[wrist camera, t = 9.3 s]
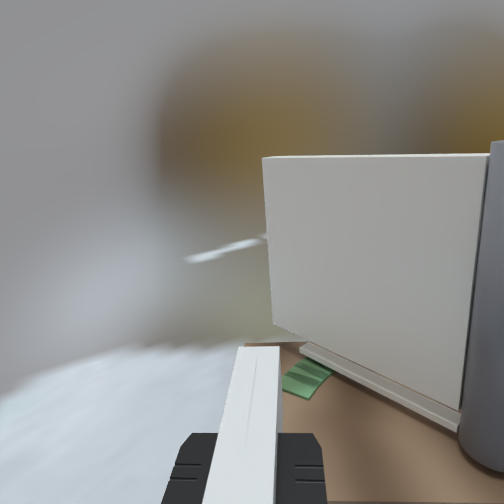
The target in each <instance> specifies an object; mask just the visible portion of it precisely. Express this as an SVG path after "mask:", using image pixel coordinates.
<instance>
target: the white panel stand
mask: <svg viewBox="0 0 504 504" xmlns="http://www.w3.org/2000/svg"><path fill="white" fill-rule="evenodd" d="M262 165H263V182H264V196H265V211H266V226H267V241H268V256H269V271H270V286H271V301H272V314H273V324H275V325H277V326H279V327H281V328H283V329H285V330H287V331H289V332H292V333H294V334H296V335H298V336H300V337H302V338H304V339H307V340H309V341H311V342H313V343H315V344H317V345H319V346H321V347H324V348H326V349H328V350H330V351H332V352H334V353H336V354H338V355H341V356H343V357H345V358H347V359H349V360H351V361H353V362H355V363H358V364H360V365H362V366H364V367H366V368H368V369H370V370H372V371H375V372H377V373H379V374H381V375H383V376H385V377H387V378H390V379H392V380H394V381H396V382H398V383H400V384H402V385H404V386H407V387H409V388H411V389H413V390H415V391H417V392H419V393H421V394H424V395H426V396H428V397H430V398H432V399H434V400H436V401H438V402H441V403H443V404H445V405H447V406H449V407H451V408H453V409H456V410H458V411H459V409H460V408H461V413H458V412H456V411H454V410H452V409H450V408H448V407H446V406H444V405H441V404H439V403H437V402H435V401H433V400H431V399H429V398H427V397H425V396H422V395H420V394H418V393H416V392H414V391H412V390H410V389H408V388H406V387H403V386H401V385H399V384H397V383H395V382H393V381H391V380H389V379H386V378H384V377H382V376H380V375H378V374H376V373H374V372H372V371H370V370H367V369H365V368H363V367H361V366H359V365H357V364H355V363H353V362H351V361H348V360H346V359H344V358H342V357H340V356H338V355H336V354H334V353H332V352H329V351H327V350H325V349H323V348H321V347H319V346H317V345H315V344H312V343H310V342H308V343H306V344H304V345H303V346H301V347H299V349H300V353H302V354H304V355H306V356H308V357H310V358H312V359H314V360H315V361H317V362H319V363H321V364H323V365H325V366H327V367H329V368H331V369H333V370H335V371H337V372H339V373H341V374H343V375H345V376H347V377H349V378H351V379H352V380H354V381H356V382H358V383H360V384H362V385H364V386H366V387H368V388H370V389H372V390H374V391H376V392H378V393H380V394H382V395H384V396H386V397H388V398H390V399H391V400H393V401H395V402H397V403H399V404H401V405H403V406H405V407H407V408H409V409H411V410H413V411H415V412H417V413H419V414H421V415H423V416H425V417H427V418H429V419H430V420H432V421H434V422H436V423H438V424H440V425H442V426H444V427H446V428H448V429H450V430H452V431H454V432H456V433H457V432H458V430H459V434H458V439H459V442H460V445H461V446H462V448H463V449H464V451H465V452H466V453H467V454H468V455H469V456H470V457H471V458H473V459H474V460H475V461H477V462H478V463H480V464H482V465H484V466H486V467H488V468H490V469H493V470H496V471H499V472H504V140H502V141H494V142H491V151H490V153H486V154H485V153H484V154H410V155H409V154H408V155H335V156H334V155H333V156H332V155H331V156H273V157H266V158H262Z"/></svg>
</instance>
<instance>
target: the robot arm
mask: <svg viewBox="0 0 504 504" xmlns="http://www.w3.org/2000/svg"><path fill="white" fill-rule="evenodd" d="M161 504H328V503H327V493H326V484H325V474H324V465H323V455H322V448H321V446H320V444H319V443H318V441H317V439H316V438H315V436H314V434H313V433H283V397H282V380H281V363H280V347H279V346H260V347H238V351H237V356H236V360H235V364H234V368H233V373H232V377H231V381H230V386H229V390H228V394H227V399H226V403H225V407H224V411H223V416H222V420H221V424H220V429H219V433H192V434H191V435H190V436H189V437H188V438H187V440H186V441H185V442H184V443H183V444H182V446H181V447H180V450H179V453H178V456H177V459H176V461H175V467H173V470H172V473H171V476H170V481H169V482H168V485H167V488H166V491H165V494H164V496H163V499H162V502H161Z"/></svg>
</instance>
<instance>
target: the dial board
mask: <svg viewBox="0 0 504 504" xmlns="http://www.w3.org/2000/svg"><path fill="white" fill-rule="evenodd" d="M306 343H308V342H276V343H245V346H244V347H260V346H279V347H280V363H281V380H282V397H283V433H313V434H314V436H315V438H316V439H317V441H318V443H319V444H320V446H321V448H322V455H323V465H324V474H325V484H326V493H327V503H328V504H504V472H499V471H496V470H493V469H490V468H488V467H486V466H484V465H482V464H480V463H478V462H477V461H475V460H474V459H473V458H471V457H470V456H469V455H468V454H467V453H466V452H465V451H464V449H463V448H462V446H461V445H460V442H459V439H458V434H459V430H458V432H457V433H456V432H454V431H452V430H450V429H448V428H446V427H444V426H442V425H440V424H438V423H436V422H434V421H432V420H430V419H429V418H427V417H425V416H423V415H421V414H419V413H417V412H415V411H413V410H411V409H409V408H407V407H405V406H403V405H401V404H399V403H397V402H395V401H393V400H391V399H390V398H388V397H386V396H384V395H382V394H380V393H378V392H376V391H374V390H372V389H370V388H368V387H366V386H364V385H362V384H360V383H358V382H356V381H354V380H352V379H351V378H349V377H347V376H345V375H343V374H341V373H339V372H337V371H335V370H333V369H331V368H329V367H327V366H325V365H323V364H321V363H319V362H317V361H315V360H314V359H312V358H310V357H308V356H306V355H304V354H302V353H300V349H299V347H301V346H303V345H304V344H306ZM310 343H312V344H315V343H313V342H310ZM315 345H317V344H315ZM317 346H319V345H317ZM319 347H321V346H319ZM321 348H323V349H325V350H327V351H329V352H332V351H330V350H328V349H326V348H324V347H321ZM332 353H334V352H332ZM334 354H336V353H334ZM336 355H338V354H336ZM338 356H340V357H342V358H344V359H346V360H348V361H351V360H349V359H347V358H345V357H343V356H341V355H338ZM351 362H353V361H351ZM353 363H355V362H353ZM355 364H357V365H359V366H361V367H363V368H365V369H367V370H370V369H368V368H366V367H364V366H362V365H360V364H358V363H355ZM370 371H372V370H370ZM372 372H374V373H376V374H378V375H380V376H382V377H384V378H386V379H389V380H391V381H393V382H395V383H397V384H399V385H401V386H403V387H406V388H408V389H410V390H412V391H414V392H416V393H418V394H420V395H422V396H425V397H427V398H429V399H431V400H433V401H435V402H437V403H439V404H441V405H444V406H446V407H448V408H450V409H452V410H454V411H456V412H458V413H461V408H460V409H459V411H458V410H456V409H453V408H451V407H449V406H447V405H445V404H443V403H441V402H438V401H436V400H434V399H432V398H430V397H428V396H426V395H424V394H421V393H419V392H417V391H415V390H413V389H411V388H409V387H407V386H404V385H402V384H400V383H398V382H396V381H394V380H392V379H390V378H387V377H385V376H383V375H381V374H379V373H377V372H375V371H372Z"/></svg>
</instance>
